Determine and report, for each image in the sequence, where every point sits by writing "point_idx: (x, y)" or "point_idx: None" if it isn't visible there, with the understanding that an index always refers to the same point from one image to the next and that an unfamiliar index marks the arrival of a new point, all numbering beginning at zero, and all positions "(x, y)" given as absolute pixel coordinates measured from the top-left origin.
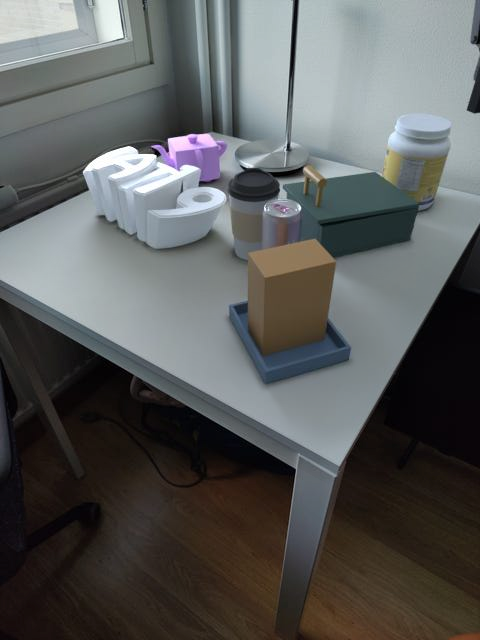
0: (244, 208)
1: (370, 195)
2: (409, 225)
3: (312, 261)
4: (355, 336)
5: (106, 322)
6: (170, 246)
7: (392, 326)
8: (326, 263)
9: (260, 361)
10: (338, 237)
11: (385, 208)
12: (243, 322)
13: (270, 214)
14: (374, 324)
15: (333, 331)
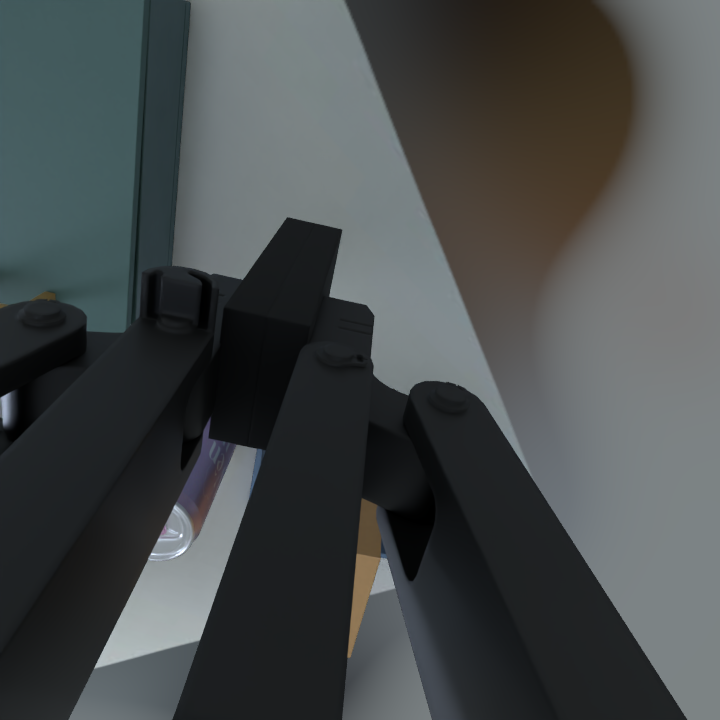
0: None
1: (39, 107)
2: (171, 17)
3: (355, 586)
4: (405, 387)
5: (176, 632)
6: None
7: (426, 316)
8: (375, 574)
9: (383, 557)
10: (153, 264)
11: (133, 133)
12: None
13: (166, 560)
14: (402, 339)
15: None
